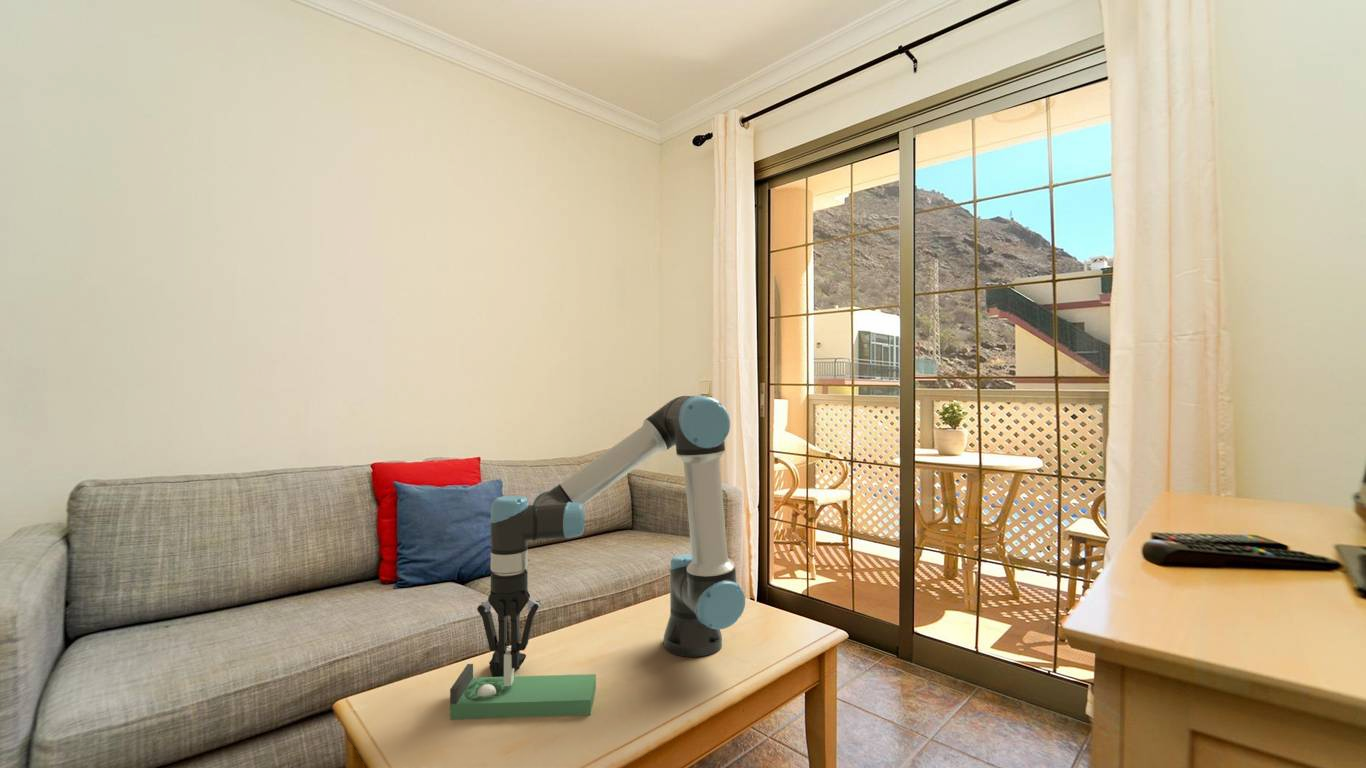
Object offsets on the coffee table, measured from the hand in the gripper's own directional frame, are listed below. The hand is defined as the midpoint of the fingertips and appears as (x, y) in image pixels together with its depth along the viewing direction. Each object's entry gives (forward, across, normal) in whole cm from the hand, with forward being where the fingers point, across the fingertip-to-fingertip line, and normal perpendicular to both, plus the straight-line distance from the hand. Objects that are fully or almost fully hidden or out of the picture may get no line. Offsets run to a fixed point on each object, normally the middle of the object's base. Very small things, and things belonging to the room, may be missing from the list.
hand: (508, 682), depth 123 cm
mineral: (+5, +4, -14) cm, 15 cm away
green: (+4, -4, 0) cm, 6 cm away
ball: (+2, +5, 0) cm, 5 cm away
